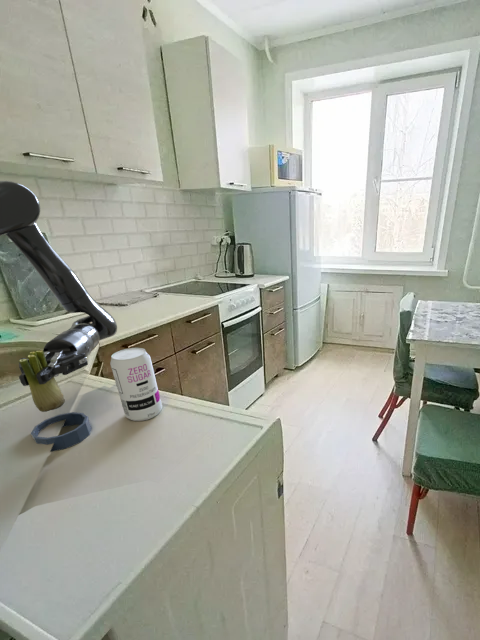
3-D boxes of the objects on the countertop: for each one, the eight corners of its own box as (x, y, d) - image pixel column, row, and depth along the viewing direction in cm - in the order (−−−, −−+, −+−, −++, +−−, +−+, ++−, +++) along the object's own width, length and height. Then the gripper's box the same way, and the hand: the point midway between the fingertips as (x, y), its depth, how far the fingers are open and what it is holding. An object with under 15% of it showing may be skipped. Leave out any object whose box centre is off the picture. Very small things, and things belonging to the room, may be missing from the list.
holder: (29, 455, 70) (24, 443, 68) (45, 429, 78) (40, 417, 77) (86, 444, 72) (81, 432, 71) (94, 420, 81) (91, 408, 80)
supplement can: (142, 402, 88) (127, 345, 81) (169, 406, 85) (156, 348, 78) (118, 419, 81) (99, 358, 74) (147, 424, 78) (130, 362, 71)
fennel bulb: (44, 417, 69) (20, 360, 64) (30, 411, 71) (7, 356, 66) (72, 404, 73) (53, 350, 68) (59, 399, 76) (39, 346, 70)
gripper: (32, 335, 79) (-17, 365, 64) (97, 330, 81) (64, 358, 65) (44, 366, 83) (0, 401, 67) (105, 361, 84) (76, 394, 68)
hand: (31, 380), depth 66 cm, fingers closed on fennel bulb, 2 cm apart
